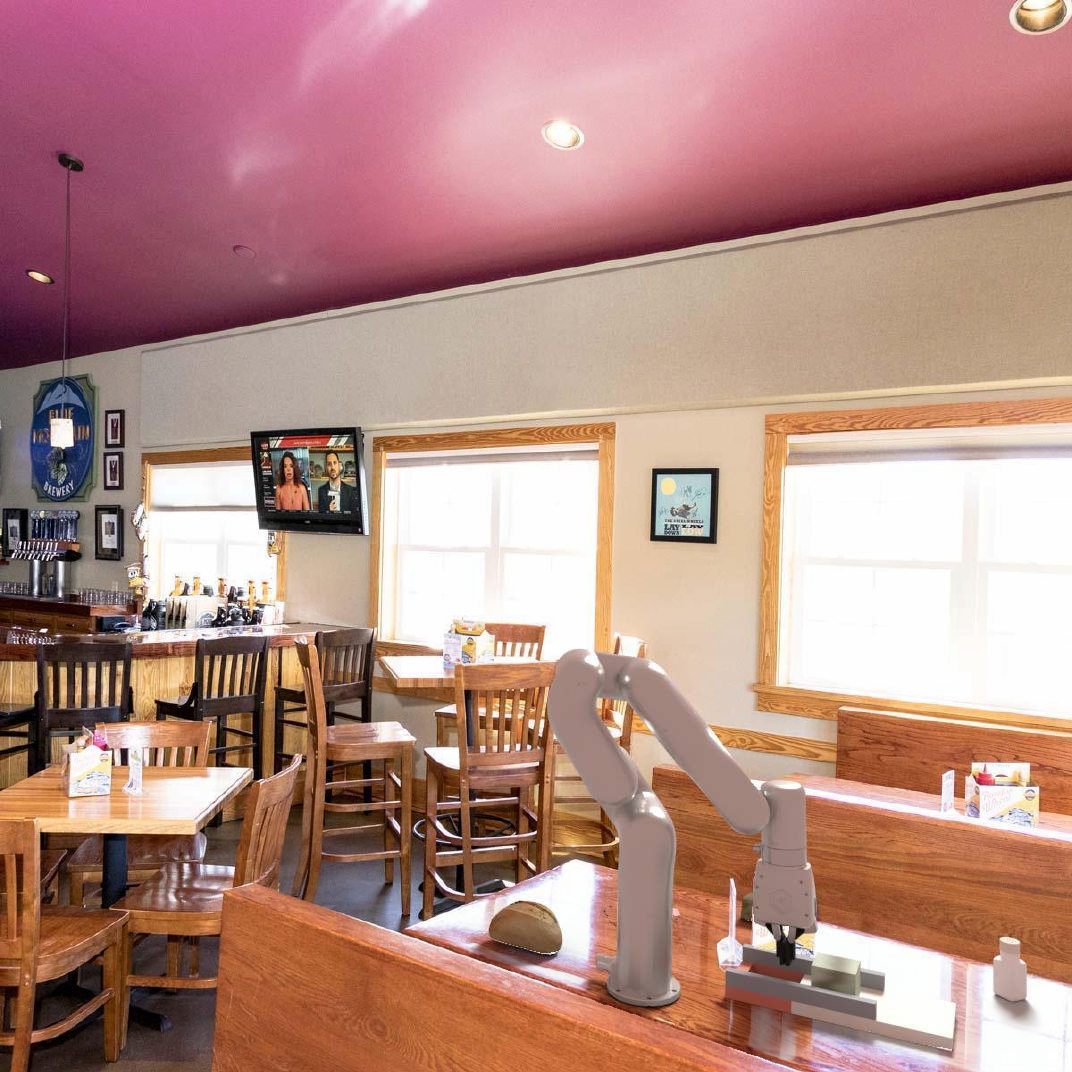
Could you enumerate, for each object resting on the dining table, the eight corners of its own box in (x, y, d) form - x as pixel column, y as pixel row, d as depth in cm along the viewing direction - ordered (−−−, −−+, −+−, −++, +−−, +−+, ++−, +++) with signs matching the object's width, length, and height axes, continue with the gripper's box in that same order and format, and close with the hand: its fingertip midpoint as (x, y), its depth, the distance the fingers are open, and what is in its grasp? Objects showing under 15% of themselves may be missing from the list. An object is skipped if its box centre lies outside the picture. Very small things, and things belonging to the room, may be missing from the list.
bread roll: (501, 931, 179) (502, 890, 179) (571, 944, 173) (572, 902, 173) (479, 949, 170) (480, 906, 170) (552, 964, 164) (553, 919, 165)
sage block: (811, 995, 150) (811, 965, 150) (817, 981, 155) (817, 952, 155) (855, 1006, 146) (855, 974, 147) (860, 991, 152) (860, 961, 152)
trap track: (725, 997, 153) (725, 970, 153) (744, 968, 164) (744, 943, 164) (952, 1051, 137) (952, 1021, 137) (955, 1015, 148) (956, 987, 148)
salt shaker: (1012, 1003, 153) (1011, 946, 153) (991, 993, 157) (991, 937, 157) (1028, 999, 155) (1028, 943, 155) (1007, 989, 158) (1007, 934, 159)
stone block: (794, 933, 181) (794, 908, 182) (738, 922, 187) (738, 897, 187) (801, 924, 186) (801, 900, 187) (746, 913, 192) (746, 889, 192)
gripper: (735, 854, 156) (737, 962, 155) (825, 867, 149) (827, 980, 148) (746, 843, 162) (748, 946, 162) (832, 854, 156) (834, 962, 155)
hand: (786, 962), depth 155 cm, fingers closed
